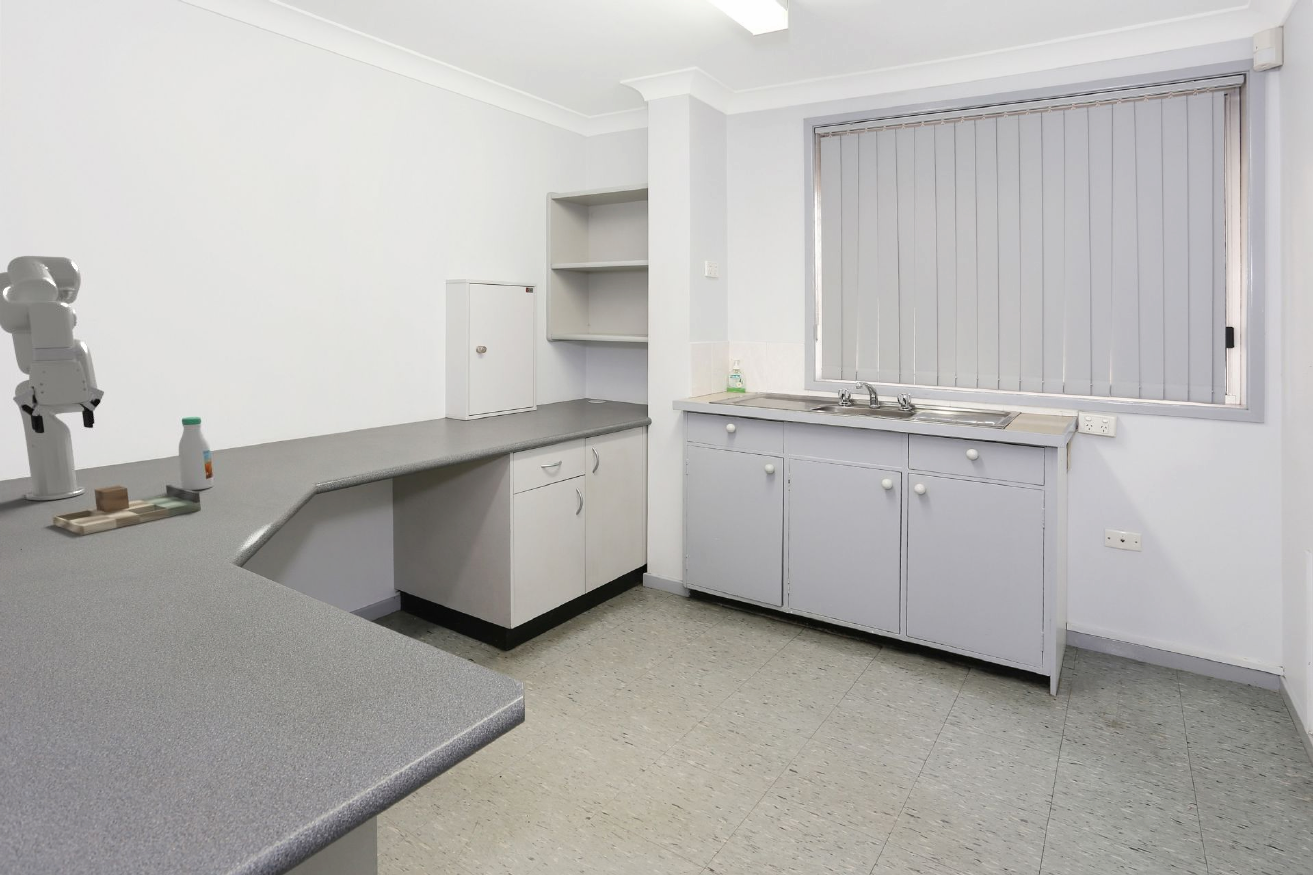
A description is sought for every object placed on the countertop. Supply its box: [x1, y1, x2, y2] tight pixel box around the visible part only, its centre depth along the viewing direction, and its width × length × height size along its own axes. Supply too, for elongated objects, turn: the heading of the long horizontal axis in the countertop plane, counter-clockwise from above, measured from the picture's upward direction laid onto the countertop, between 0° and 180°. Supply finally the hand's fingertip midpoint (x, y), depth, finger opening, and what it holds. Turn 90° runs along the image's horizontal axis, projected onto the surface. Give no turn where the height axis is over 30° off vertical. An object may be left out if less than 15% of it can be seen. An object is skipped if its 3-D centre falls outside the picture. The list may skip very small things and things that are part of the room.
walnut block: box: [94, 485, 130, 512], centre depth 188 cm, size 5×5×5 cm
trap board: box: [52, 484, 202, 536], centre depth 188 cm, size 15×26×4 cm, turn 148°
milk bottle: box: [178, 416, 214, 491], centre depth 217 cm, size 8×8×20 cm
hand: (64, 430), depth 179 cm, fingers open, 9 cm apart
